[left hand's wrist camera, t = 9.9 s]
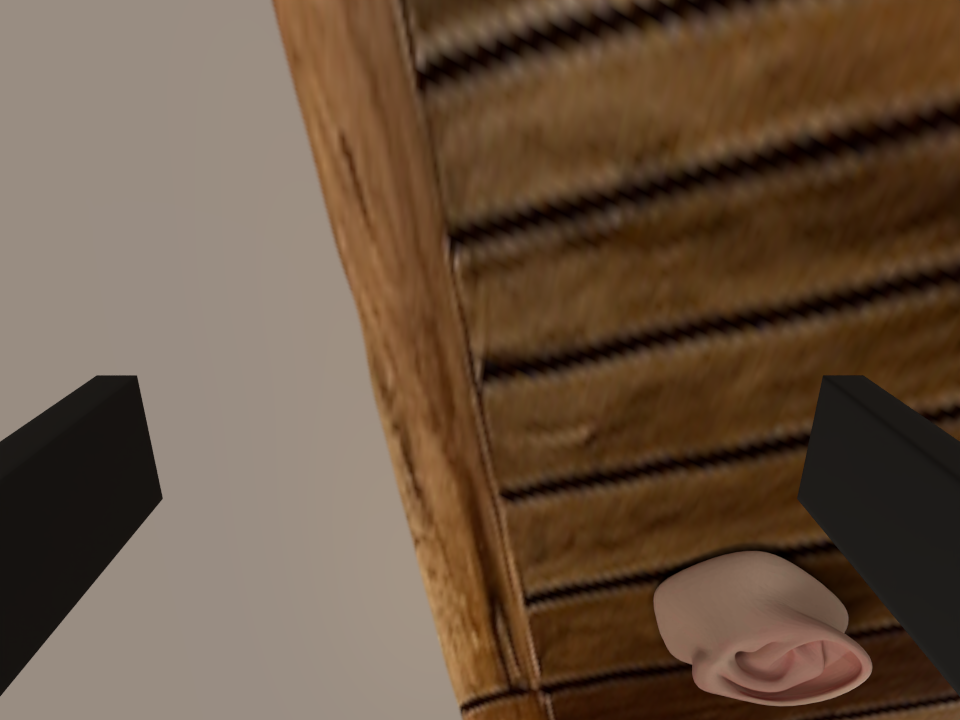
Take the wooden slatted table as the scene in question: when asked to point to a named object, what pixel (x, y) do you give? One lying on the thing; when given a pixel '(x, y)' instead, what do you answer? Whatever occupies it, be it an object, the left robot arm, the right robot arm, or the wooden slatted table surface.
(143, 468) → the left robot arm
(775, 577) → the anatomical model
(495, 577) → the wooden slatted table surface
